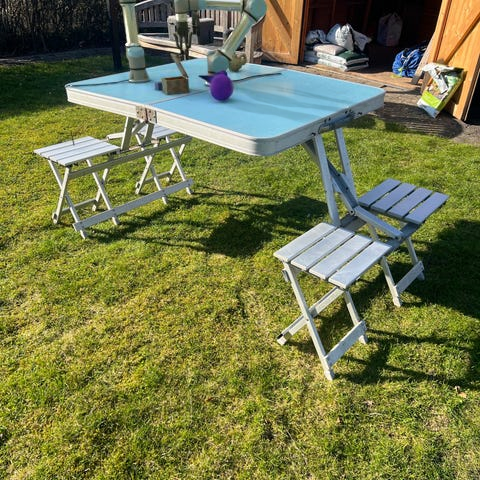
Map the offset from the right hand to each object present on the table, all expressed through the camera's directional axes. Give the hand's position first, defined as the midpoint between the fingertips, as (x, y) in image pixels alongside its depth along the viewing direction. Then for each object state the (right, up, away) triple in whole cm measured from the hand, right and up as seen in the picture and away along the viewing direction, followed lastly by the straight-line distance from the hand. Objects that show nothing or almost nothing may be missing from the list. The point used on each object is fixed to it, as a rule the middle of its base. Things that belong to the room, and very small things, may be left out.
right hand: (185, 60), depth 298 cm
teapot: (+33, +19, +70) cm, 79 cm away
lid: (-4, -4, 0) cm, 6 cm away
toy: (+23, -30, -12) cm, 39 cm away
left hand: (+3, +40, +51) cm, 65 cm away
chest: (-7, -19, +7) cm, 21 cm away
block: (-19, -15, +15) cm, 28 cm away
